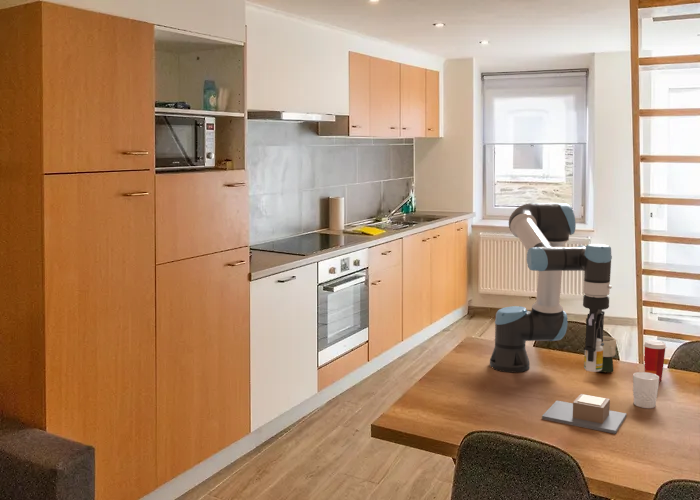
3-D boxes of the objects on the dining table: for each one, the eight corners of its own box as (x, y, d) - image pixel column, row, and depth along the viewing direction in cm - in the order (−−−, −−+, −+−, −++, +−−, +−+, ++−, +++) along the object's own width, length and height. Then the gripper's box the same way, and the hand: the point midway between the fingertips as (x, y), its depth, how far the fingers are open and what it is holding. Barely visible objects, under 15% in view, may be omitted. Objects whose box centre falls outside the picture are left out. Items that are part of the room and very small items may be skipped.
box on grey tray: (541, 418, 213) (542, 399, 213) (556, 403, 227) (557, 385, 226) (615, 433, 202) (616, 413, 201) (626, 416, 215) (627, 397, 214)
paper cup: (660, 376, 254) (662, 339, 252) (667, 383, 246) (669, 345, 244) (638, 375, 254) (640, 339, 252) (645, 382, 247) (647, 345, 245)
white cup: (627, 400, 229) (628, 372, 227) (649, 400, 229) (651, 371, 228) (639, 409, 221) (640, 379, 219) (662, 408, 221) (664, 379, 220)
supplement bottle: (580, 368, 212) (581, 338, 211) (593, 365, 214) (594, 336, 213) (593, 372, 207) (594, 342, 206) (606, 370, 210) (607, 340, 208)
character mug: (620, 375, 254) (622, 342, 253) (602, 376, 254) (604, 342, 252) (606, 366, 265) (608, 334, 263) (589, 367, 264) (590, 335, 263)
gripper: (602, 301, 198) (598, 378, 201) (615, 291, 213) (612, 362, 216) (575, 298, 202) (572, 374, 205) (591, 288, 217) (588, 359, 220)
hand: (593, 368), depth 211 cm, fingers closed on supplement bottle, 5 cm apart
